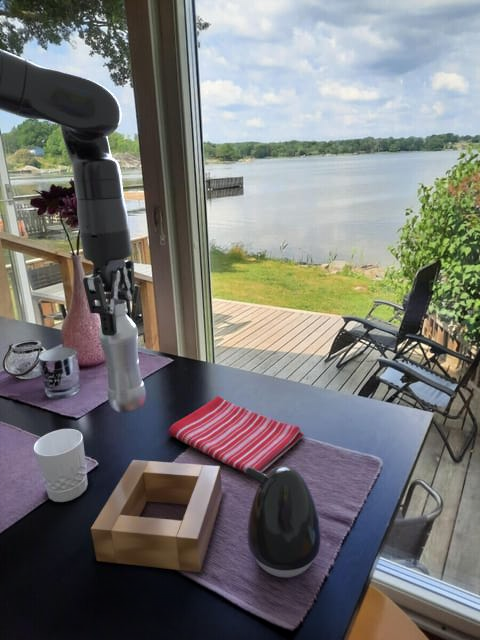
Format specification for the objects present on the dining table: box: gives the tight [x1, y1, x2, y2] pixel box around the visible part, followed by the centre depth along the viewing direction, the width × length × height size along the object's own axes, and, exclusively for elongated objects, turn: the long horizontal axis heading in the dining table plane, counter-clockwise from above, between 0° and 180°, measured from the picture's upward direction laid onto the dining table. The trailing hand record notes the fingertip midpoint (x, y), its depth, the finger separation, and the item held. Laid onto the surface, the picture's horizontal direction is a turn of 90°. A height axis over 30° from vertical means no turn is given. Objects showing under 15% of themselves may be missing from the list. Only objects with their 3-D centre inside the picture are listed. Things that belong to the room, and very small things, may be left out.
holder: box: [90, 459, 223, 573], centre depth 69 cm, size 16×16×6 cm
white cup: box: [33, 428, 89, 503], centre depth 77 cm, size 8×8×10 cm
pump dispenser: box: [245, 465, 322, 578], centre depth 61 cm, size 10×10×15 cm
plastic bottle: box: [97, 300, 147, 414], centre depth 77 cm, size 6×7×20 cm
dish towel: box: [168, 395, 304, 474], centre depth 92 cm, size 17×24×3 cm
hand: (117, 327), depth 75 cm, fingers closed on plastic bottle, 6 cm apart
